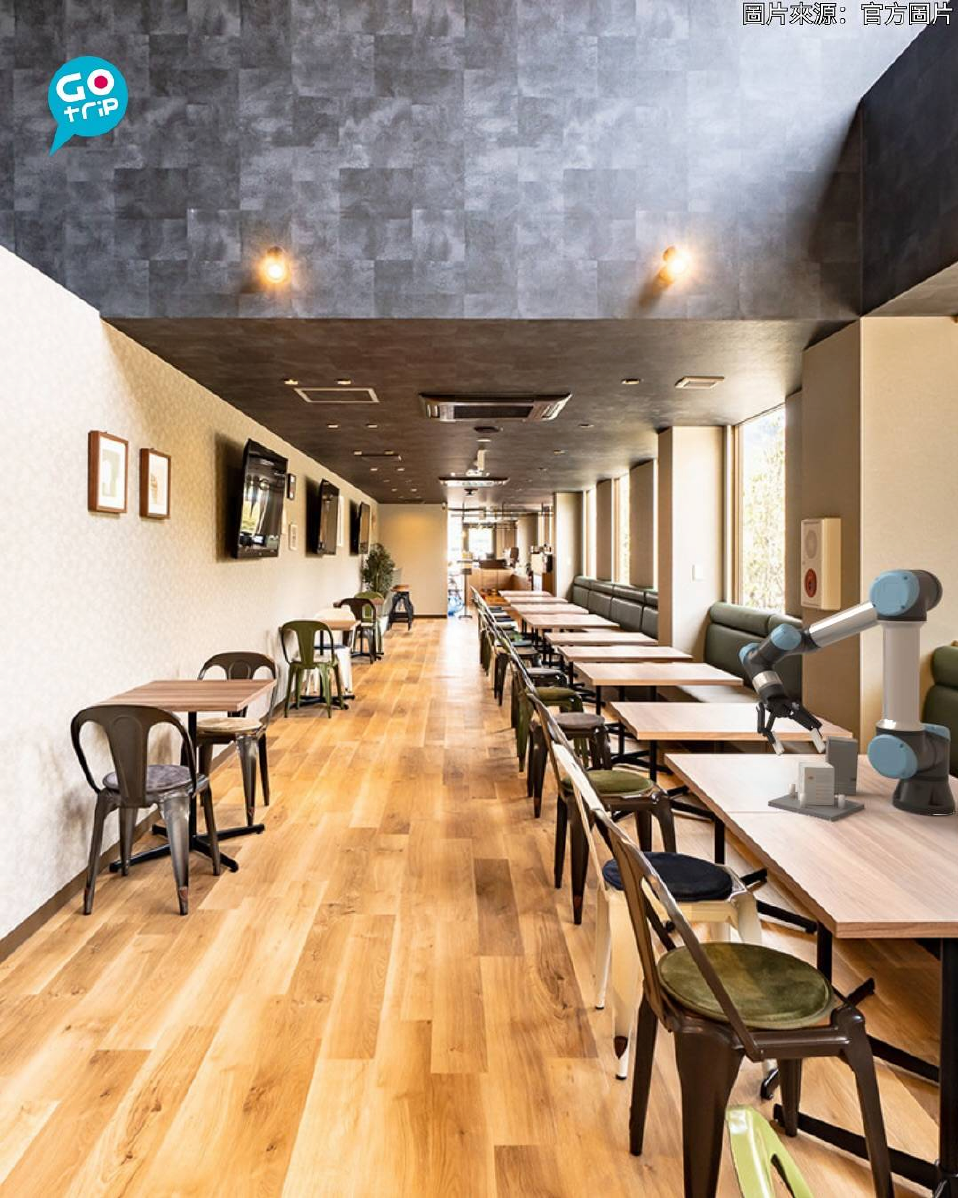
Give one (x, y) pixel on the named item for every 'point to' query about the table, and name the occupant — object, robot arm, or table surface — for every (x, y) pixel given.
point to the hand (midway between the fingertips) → (802, 751)
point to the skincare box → (843, 763)
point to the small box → (816, 783)
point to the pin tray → (819, 811)
